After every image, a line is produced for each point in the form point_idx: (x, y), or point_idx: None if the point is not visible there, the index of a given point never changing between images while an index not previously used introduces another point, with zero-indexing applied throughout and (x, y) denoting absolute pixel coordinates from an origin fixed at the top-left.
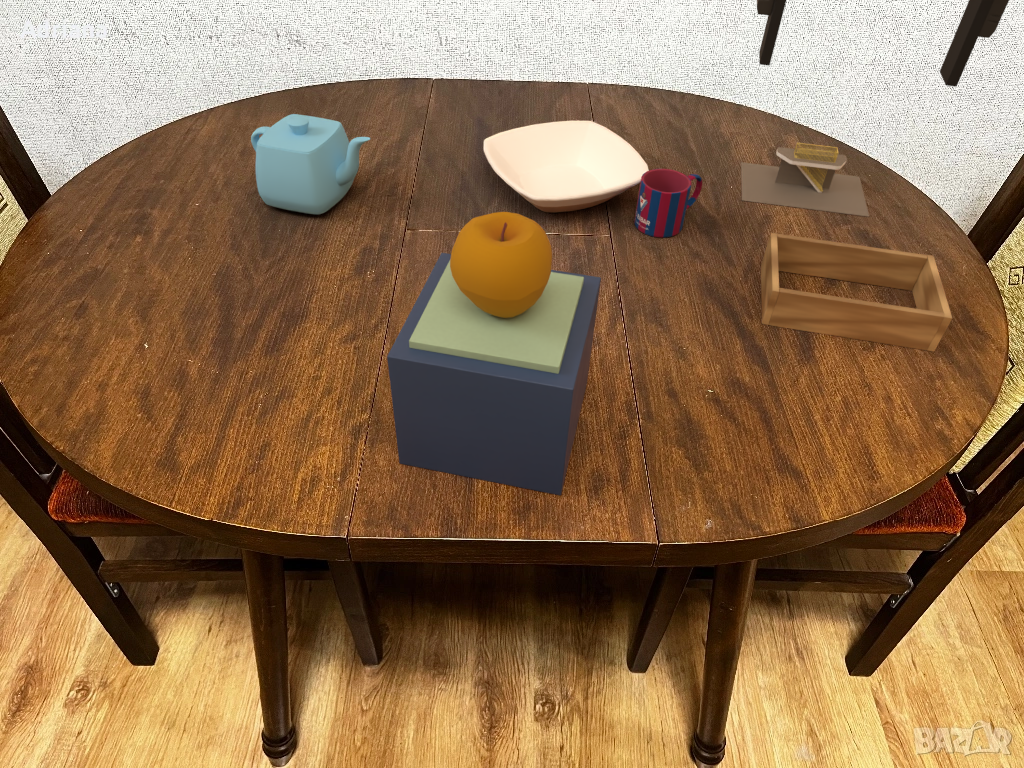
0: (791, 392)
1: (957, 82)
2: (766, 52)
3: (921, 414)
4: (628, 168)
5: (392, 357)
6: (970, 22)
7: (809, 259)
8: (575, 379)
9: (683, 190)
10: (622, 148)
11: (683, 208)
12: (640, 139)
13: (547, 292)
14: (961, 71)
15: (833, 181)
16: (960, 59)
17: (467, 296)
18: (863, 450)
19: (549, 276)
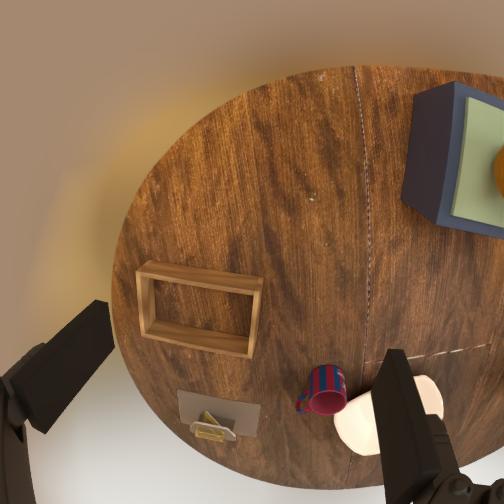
0: (250, 205)
1: (93, 302)
2: (402, 362)
3: (165, 196)
4: (345, 420)
5: None
6: (56, 361)
7: (222, 340)
8: (454, 91)
9: (316, 394)
10: (346, 436)
11: (313, 384)
12: (322, 452)
13: (479, 191)
14: (84, 311)
15: (197, 419)
16: (82, 322)
17: None
18: (208, 154)
19: (501, 163)
